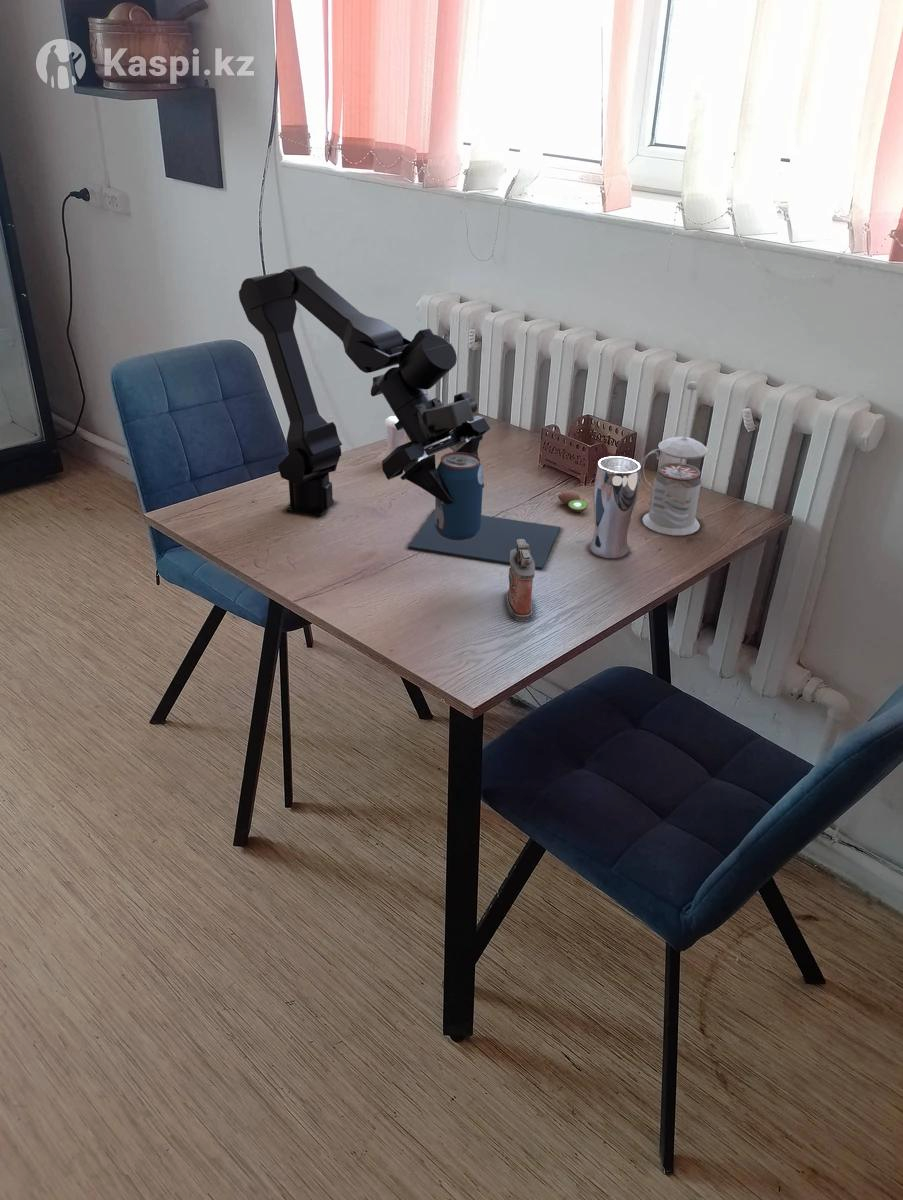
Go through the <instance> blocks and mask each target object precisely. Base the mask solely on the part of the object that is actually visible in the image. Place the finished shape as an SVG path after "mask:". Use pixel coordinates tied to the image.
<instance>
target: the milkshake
mask: <svg viewBox="0 0 903 1200" xmlns="http://www.w3.org/2000/svg"><path fill="white" fill-rule="evenodd" d="M397 422H398V419H397V417H396V415H390V416H387V418H386V419H385V420H384V422H383V423H384V425H383V426H384V432H385V434H384V435H385V439H386V448H387V449H386V450H387V452H386V453H387V456H388V455H389V454H390V453H391V452H392V451H394V450H395V449H396V448H397V447H398V446H401V445H403V444H406V443H407V439H408V436H407V434H406V432H405V431H404V429H401V430H397V428H396V427H395V424H396V423H397Z"/></svg>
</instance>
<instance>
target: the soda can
mask: <svg viewBox="0 0 903 1200" xmlns="http://www.w3.org/2000/svg"><path fill="white" fill-rule="evenodd" d="M436 470H437V471H438V473H439V475H440V477H441V479H442V480H443V482H444V484H445V486H446V488H447V489H448V491H449V493H450V495H451V498H452V500H453V502H452V503H451V504H449V505H447V504H445V503H444V502H442V501H441V500H439V499H438V498H436V497H435V499H434V500H435V503H434V504H435V505H434V510H435V527H436V529H437V531H438V533H439V534H440V536H441V537H443V538H444V539H447V540H450V541H457V542H460V541H467V540H470V539H472V538H474V537H475V535H476V534H477V533H478V531H479V530H480V527H481V515H482V510H483V509H482V508H483V506H482V505H483V493H484V492H483V489H484V488H483V483H484V473H485V472H484V468H483V467H482V464H481V459H480V457H479V455H478V456H476V455H474V454H471V453H466V452H453V451H452V452H448V453H445V454H443V455H442V456H441V457H440V462H439V463H438V465H437V467H436Z"/></svg>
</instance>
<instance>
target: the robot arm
mask: <svg viewBox="0 0 903 1200" xmlns="http://www.w3.org/2000/svg"><path fill="white" fill-rule="evenodd" d="M238 298H239V302H240V304H241V307H242V309H243V311H244V314H245V316H246V319H247V321H248V323H250V324H251V326H253V327H254V329H256V330H257V331H258V332H259V334H261V335H262V337H263V340H264V343H265V346H266V350H267V353H268V356H269V360H270V362H271V365H272V368H273V372H274V376H275V378H276V383H277V385H278V388H279V391H280V395H281V398H282V401H283V404H284V407H285V411H286V413H287V417H288V421H289V427H288V431H287V436H286V442H285V443H286V448H287V452H288V455H286V457H285V458H283V460H282V461H281V462H280V463H279V464H278V465H277V468H278V472H279V474H280V475H279V476H280V478H281V479H284V480H286V481H288V492H289V493H288V494H289V505H288V506H287V507H286V508H285V511H286V512H288V513H293V514H300V515H307V516H314V517H321V516H323V515H324V514H325V513H326V512H327V511H328V509H329V508H330V507H331V506H332V505H333V504H334V503H335V500H334V497H333V483H332V482H331V481H330V473H332V472H336V470H337V467H338V463H339V460H340V457H342V447H341V446H342V445H343V443H342V441H341V440H340V437H339V435H338V430H337V425H336V424H335V423H334V421H330V422H327V421H326V419H324V418H323V416H322V415H320V413H319V409H318V406H317V403H316V400H315V399H316V398H315V395H314V393H313V390H312V387H311V382H310V380H309V377H308V373H307V369H306V366H305V363H304V360H303V356H302V354H301V349H300V347H299V344H298V340H297V337H296V333H295V329H294V325H295V319H296V317H297V310H298V306H297V303H298V304H300V305H301V306H302V307H303V308H304V309H305V310H307V311H308V313H310V314H311V315H312V316H313V317H315V319H317V320H318V321H319V322H320V323H321V324H323V326H325V327H326V328H327V329H328V330H330V331H331V332H332V333H333V334H334V335H336V337H338V339H339V340H340V341H341V342H342V345H343V348H344V349H343V350H344V352H345V354H346V355H347V357H348V358H349V359H350V360H351V361H352V363H353V364H354V365H355V366H356V367H357V368H358V369H359V370H360V371H361V372H362V373H365V374H370V373H374V372H376V371H381V370H384V369H387V368H389V369H388V370H387V371H386V372H385V373H384V374H380V375H377V376H374V377H373V378H372V385H371V388H370V396H371V397H376V396H379V395H382V396H383V397H384V400H386V402H387V404H388V405H389V407H390V409H391V410H392V412H393V414H394V416H396V417H397V419H398V422H397V423H396V424H395V427H396V428H397V430H401V429H404V431H405V432H406V434H407V438H408V440H410V441H408V442H406V444H403V445H401V446H398V447H397V448H396V449H395V450H394V451H392V452H391V453H390V454H389V455H388V454H387V456H386V457H385V458H383V459H382V460H381V470H382V472H383V474H384V476H385V478H386V479H387V480H388V481H390V480H392V479H395V478H397V477H399V476H400V479H401V480H402V481H405V480H406V481H409V482H410V483H412V484H413V485H415V486H417V487H419V488H421V489H422V490H424V491H426V492H427V493H429V494H430V495H432V496H433V497H435V499H436V498H438V499H439V500H441V501H442V502H444V503H445V504H447V505H449V504H451V503H452V502H453V500H452V498H451V495H450V493H449V491H448V489H447V488H446V486H445V484H444V482H443V480H442V479H441V477H440V475H439V473H438V471H437V470H436V469H437V467H436V465H437V464H436V454H437V453H439V452H442V451H444V450H446V449H450V450H451V451H452V452H466V453H471V454H474V455H476V456H478V457H479V445H480V442H481V441H482V440H483V438H484V435H485V434H486V433H487V432H489V430H491V427H490V425H489V423H488V422H487V420H486V419H485V417H483V416H480V415H475V416H474V413H476V412H477V411H478V403H477V402H476V399H475V398H474V396H473V395H472V394H471V392H470V391H469V390H467V391H463V392H459V393H457V394H454V396H453V401H452V402H450V403H446V404H443V403H442V401H441V399H439V398H438V397H435V398H431V397H430V395H429V394H428V391H427V390H430V389H432V388H433V387H434V386H435V385H436V384H437V383H438V382H439V381H440V380H442V378H443V377H445V376H446V375H447V374H448V373H449V372H450V371H451V370H452V369H453V368H454V367H455V366H456V364H457V361H458V359H457V357H458V356H457V353H456V350H455V347H454V346H453V344H452V343H449V342H448V340H446V339H445V338H444V337H443V336H440V335H437V334H434V332H433V331H432V329H431V328H430V327H426V328H423V329H419V330H418V332H417V333H416V334H415V335H414V337H413V338H412V339H410V338H408V337H406V336H404V335H403V334H402V333H401V332H400V330H399V329H398V328H397V327H394V326H393V325H391V324H389V323H387V322H386V321H384V320H383V319H379V318H376V317H371V316H368V315H366V314H364V313H362V312H361V311H360V310H359V309H357V308H356V307H355V306H354V305H352V304H351V303H350V302H349V301H348V300H347V299H345V298H344V297H343V296H342V295H341V294H340V293H338V292H337V291H335V289H334V288H332V287H331V286H330V285H329V284H327V282H325V281H324V280H323V279H321V278H320V277H319V276H318V275H317V273H316V270H314V268H312V267H311V266H308V265H301V266H296V267H291V268H286V269H284V270H283V271H281V272H274V273H273V272H272V273H268V274H263V275H257V276H253V277H247V278H245V279H244V280H243V281H242V283H241V285H240V289H239V290H238ZM397 365H398V366H397ZM393 366H395V367H393ZM484 488H485V483H484V482H483V489H484Z"/></svg>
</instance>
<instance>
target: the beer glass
mask: <svg viewBox="0 0 903 1200" xmlns="http://www.w3.org/2000/svg"><path fill="white" fill-rule="evenodd" d="M640 473H641V471H640V462H638V461H636V460H635V459H632V458H630V457H626V456H606V457H602V458H600V459H599V460H598V462H597V468H596V471H595V477H594V483H593V492H592V494H593V495H592V496H593V499H592V501H593V515H594V532H593V535H592V538H591V542H590V545H589V550H590V552H591V553H592V554H594V555H595V556H598V557H600V558H603V559H610V560H611V559H620V558H623V557H625V556H626V555H627V554H628V552H629V547H628V532H629V527H630V524H631V521H632V518H633V516H634V515H633V514H634V511H635V509H636V507H637V506H636V505H637V502H638V497H639V492H640V491H639V490H640V482H641V481H640Z"/></svg>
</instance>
